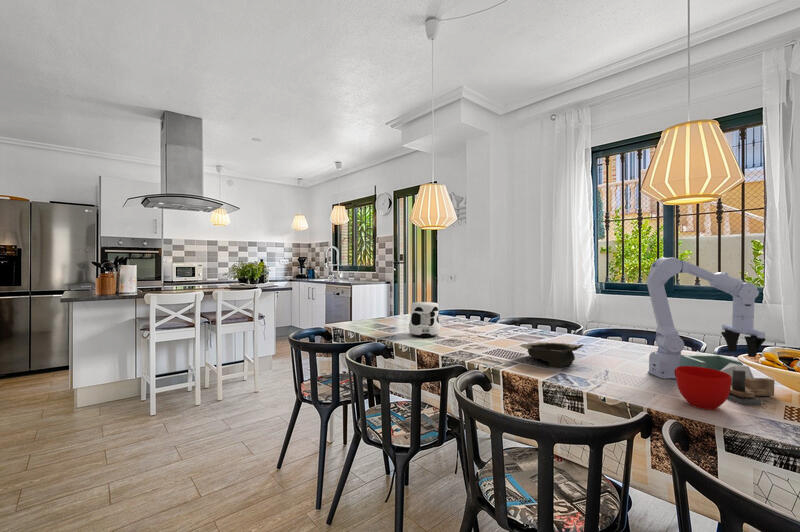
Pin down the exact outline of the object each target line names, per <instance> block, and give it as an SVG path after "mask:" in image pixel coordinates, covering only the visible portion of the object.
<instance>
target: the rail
mask: <svg viewBox="0 0 800 532" xmlns="http://www.w3.org/2000/svg"><path fill="white" fill-rule="evenodd" d="M726 400H729V401H732V402H734V403H736V404H738V405H742V406H762V404H763V400H762V399H761V398H757V397H756V396H755V397H739V396H736V395H734V394H731V393H729V396H728V398H727V399H726Z"/></svg>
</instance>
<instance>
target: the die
mask: <svg viewBox="0 0 800 532" xmlns="http://www.w3.org/2000/svg"><path fill="white" fill-rule="evenodd" d="M733 369H738V370H743V371H746V374H745V378H755V377H754V375H753V373H752V370H751V368H750V366H748V365H744V364H743V365H738V364H733V363H729V364H728V365H727V366H726V367H724V368H723V369H722V370H720V371H722V372H725V373H727V374H729V375H730V376H731V377H732V375H733ZM731 386H732V382H731Z"/></svg>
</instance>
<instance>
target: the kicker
mask: <svg viewBox="0 0 800 532" xmlns="http://www.w3.org/2000/svg"><path fill="white" fill-rule="evenodd" d="M745 374H746V371H743V370H738V369H733V375H732V386H731V389H730V393H731V394H734V395H736V396H739V397H755V398H756V397H763V396H764V397H774V396H775V383H776V382H775V381H774V380H775V379H772V378H769V377H766V378H765V377H754V378H745Z"/></svg>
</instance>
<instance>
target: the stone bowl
mask: <svg viewBox="0 0 800 532" xmlns="http://www.w3.org/2000/svg"><path fill="white" fill-rule="evenodd" d="M583 346H584V344H578V345H576V344H571V343H564V342H563V343H561V342H529V343H522V344H520V345H519V347H522V348H524V349H526V350H527V353H528V355H529V357H530V358H535V359H538V360H541V361H543V362H547V363H548V366H549V367H550V368H565V367H566V366H572V365H573V362H574V361H575V359H576V356H575V354H574V351H578V350H579V349H580V348H583Z"/></svg>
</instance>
